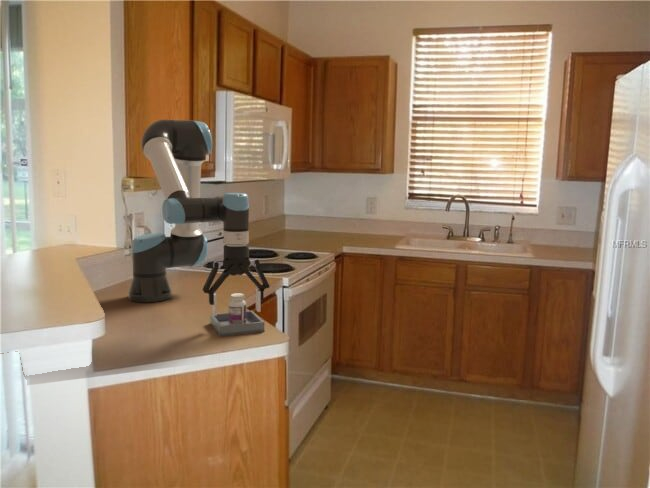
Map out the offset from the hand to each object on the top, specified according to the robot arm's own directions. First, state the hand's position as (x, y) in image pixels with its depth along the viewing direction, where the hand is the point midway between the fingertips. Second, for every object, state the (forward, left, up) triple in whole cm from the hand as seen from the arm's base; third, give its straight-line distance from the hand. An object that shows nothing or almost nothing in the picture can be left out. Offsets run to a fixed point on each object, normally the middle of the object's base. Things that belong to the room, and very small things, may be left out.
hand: (236, 312), depth 173 cm
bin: (0, 0, -5) cm, 5 cm away
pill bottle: (0, 0, -4) cm, 4 cm away
